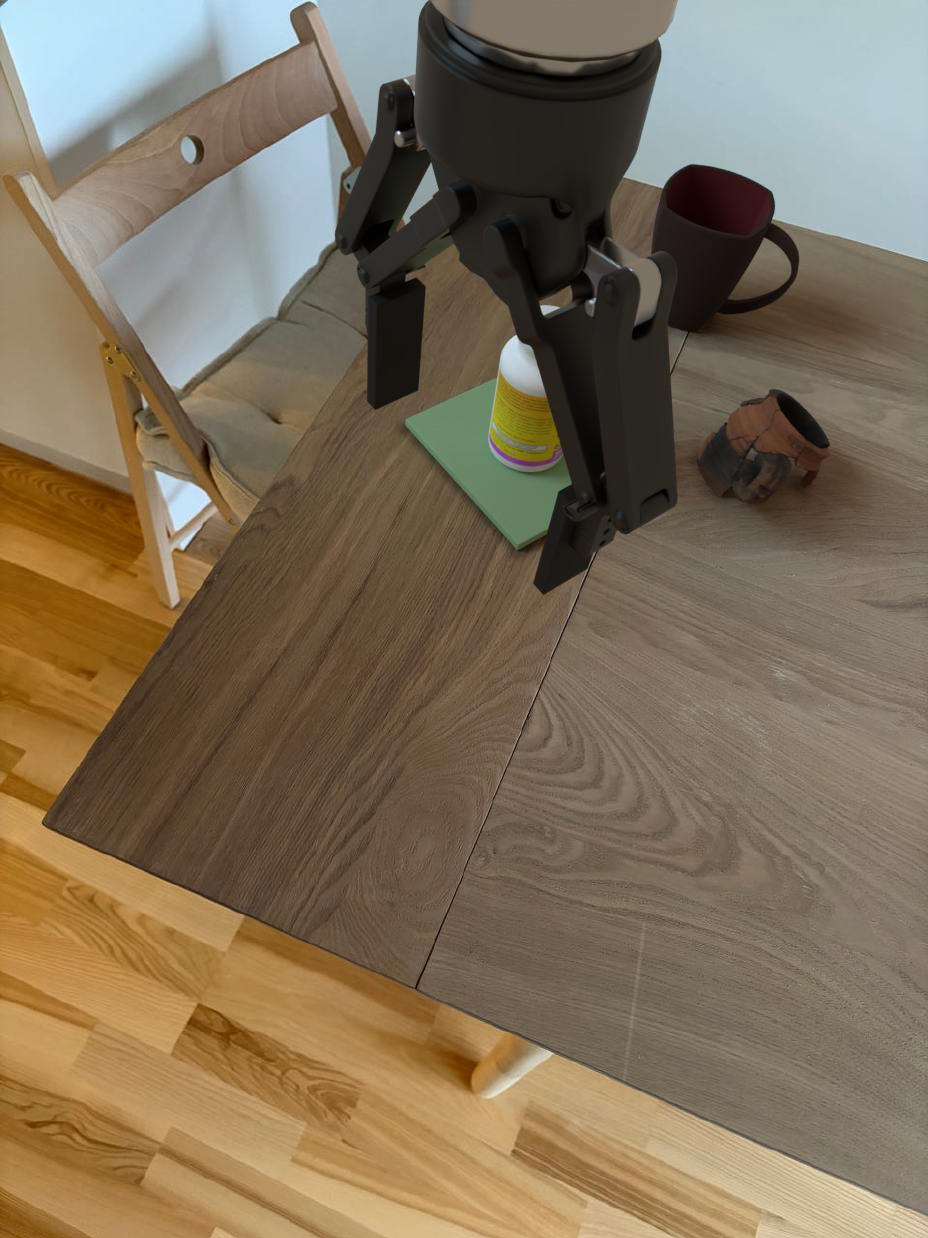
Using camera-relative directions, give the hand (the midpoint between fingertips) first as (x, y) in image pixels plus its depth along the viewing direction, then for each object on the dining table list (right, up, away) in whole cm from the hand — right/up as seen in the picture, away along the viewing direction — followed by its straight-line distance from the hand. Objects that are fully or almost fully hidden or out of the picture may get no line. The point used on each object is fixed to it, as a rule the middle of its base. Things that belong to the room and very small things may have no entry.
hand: (471, 481), depth 46 cm
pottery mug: (+24, +5, +36) cm, 43 cm away
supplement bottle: (+5, +8, +34) cm, 36 cm away
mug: (+23, +23, +47) cm, 57 cm away
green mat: (+5, +8, +35) cm, 36 cm away
